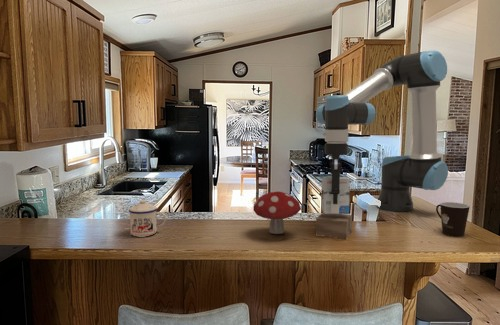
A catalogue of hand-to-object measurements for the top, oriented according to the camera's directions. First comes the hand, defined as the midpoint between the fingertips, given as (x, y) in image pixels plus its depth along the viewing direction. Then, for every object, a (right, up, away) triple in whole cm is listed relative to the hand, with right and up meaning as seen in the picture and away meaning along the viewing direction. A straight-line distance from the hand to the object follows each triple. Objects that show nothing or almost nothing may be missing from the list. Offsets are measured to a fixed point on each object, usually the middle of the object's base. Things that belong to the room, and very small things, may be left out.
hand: (334, 210), depth 123 cm
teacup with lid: (-64, -8, +1) cm, 64 cm away
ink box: (0, -1, 0) cm, 1 cm away
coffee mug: (+40, -8, +1) cm, 41 cm away
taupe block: (0, -8, +1) cm, 8 cm away
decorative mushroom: (-20, -8, -1) cm, 22 cm away
